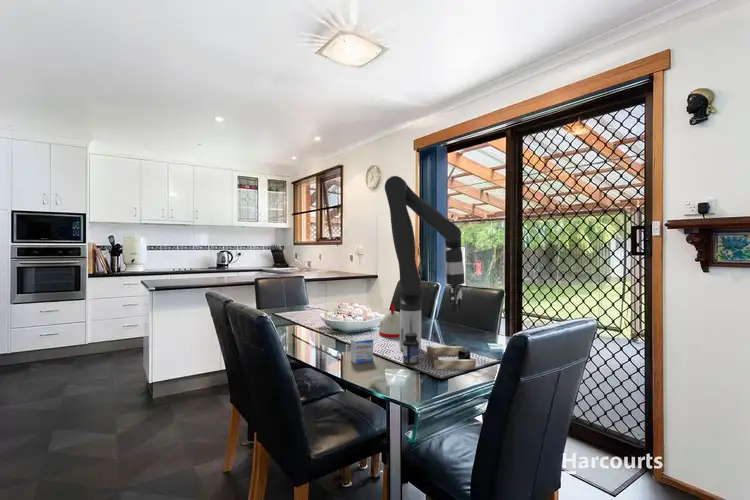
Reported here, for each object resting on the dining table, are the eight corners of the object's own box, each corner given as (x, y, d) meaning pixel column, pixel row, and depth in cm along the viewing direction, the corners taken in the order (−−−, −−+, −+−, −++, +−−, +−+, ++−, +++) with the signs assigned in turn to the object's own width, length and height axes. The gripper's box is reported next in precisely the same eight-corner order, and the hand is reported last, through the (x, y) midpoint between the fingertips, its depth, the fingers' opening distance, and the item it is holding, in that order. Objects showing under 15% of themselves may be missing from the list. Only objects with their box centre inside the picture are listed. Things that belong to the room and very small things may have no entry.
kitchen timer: (377, 336, 186) (377, 306, 185) (381, 330, 199) (381, 302, 199) (405, 338, 183) (405, 307, 183) (407, 331, 197) (407, 302, 197)
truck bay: (434, 369, 139) (435, 359, 139) (426, 353, 158) (426, 345, 158) (475, 368, 139) (475, 359, 139) (462, 353, 158) (462, 345, 158)
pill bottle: (420, 361, 148) (420, 333, 148) (417, 365, 143) (417, 336, 142) (405, 359, 150) (405, 331, 150) (401, 364, 145) (401, 335, 144)
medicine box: (355, 364, 144) (355, 341, 144) (350, 361, 148) (350, 339, 148) (373, 361, 148) (373, 339, 148) (368, 358, 152) (368, 336, 152)
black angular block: (465, 357, 156) (465, 345, 156) (481, 361, 151) (481, 349, 150) (447, 363, 147) (447, 351, 147) (463, 368, 142) (463, 355, 142)
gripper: (450, 271, 168) (452, 307, 168) (441, 274, 155) (444, 313, 155) (467, 271, 165) (469, 308, 165) (460, 274, 152) (462, 314, 152)
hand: (457, 310), depth 160 cm, fingers open, 8 cm apart
